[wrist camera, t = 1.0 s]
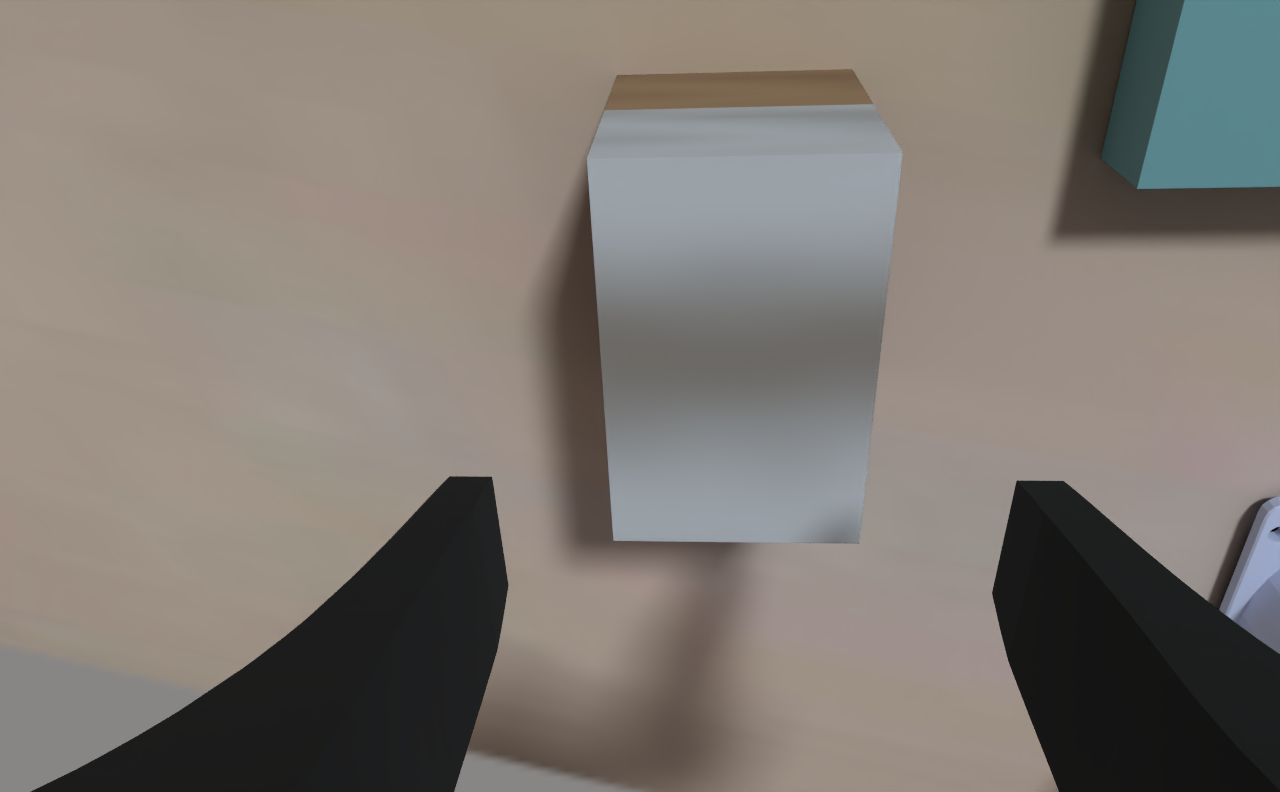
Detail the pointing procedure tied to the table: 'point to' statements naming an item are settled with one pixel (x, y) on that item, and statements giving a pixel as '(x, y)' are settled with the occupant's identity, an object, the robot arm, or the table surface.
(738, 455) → the block
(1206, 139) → the teal stand
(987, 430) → the table surface
